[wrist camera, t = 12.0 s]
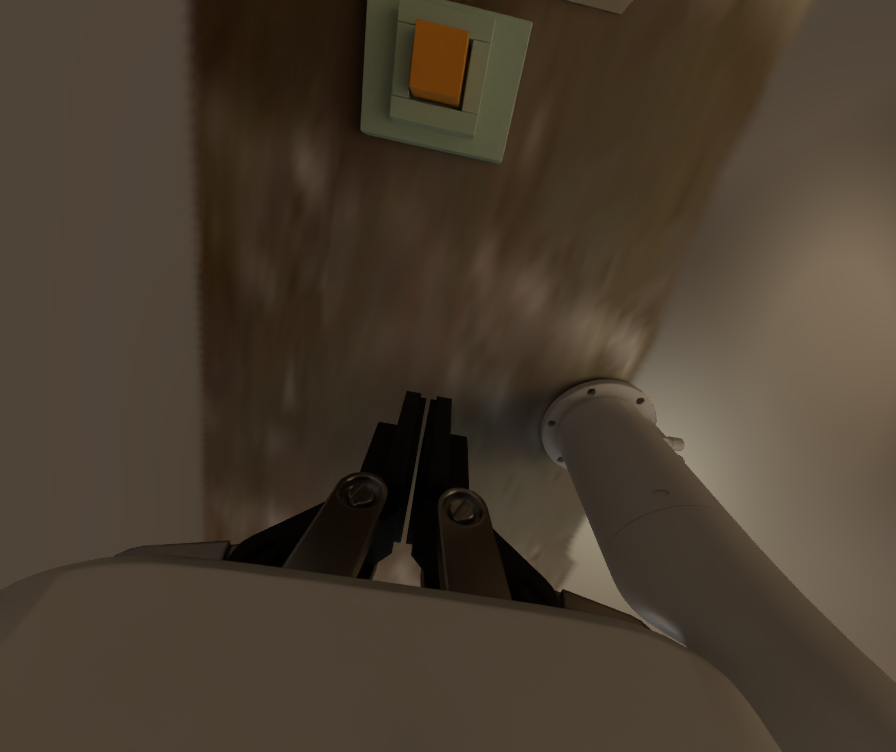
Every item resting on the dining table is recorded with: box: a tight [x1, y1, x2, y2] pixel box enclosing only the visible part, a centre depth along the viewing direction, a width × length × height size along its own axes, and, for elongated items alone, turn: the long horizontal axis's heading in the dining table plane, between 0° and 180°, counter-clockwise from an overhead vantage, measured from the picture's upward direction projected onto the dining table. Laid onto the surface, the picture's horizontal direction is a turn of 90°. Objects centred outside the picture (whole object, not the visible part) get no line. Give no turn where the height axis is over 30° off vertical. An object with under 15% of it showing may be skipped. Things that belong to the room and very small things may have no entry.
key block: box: [360, 0, 532, 164], centre depth 23 cm, size 11×8×4 cm
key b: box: [409, 19, 469, 107], centre depth 21 cm, size 3×3×2 cm
